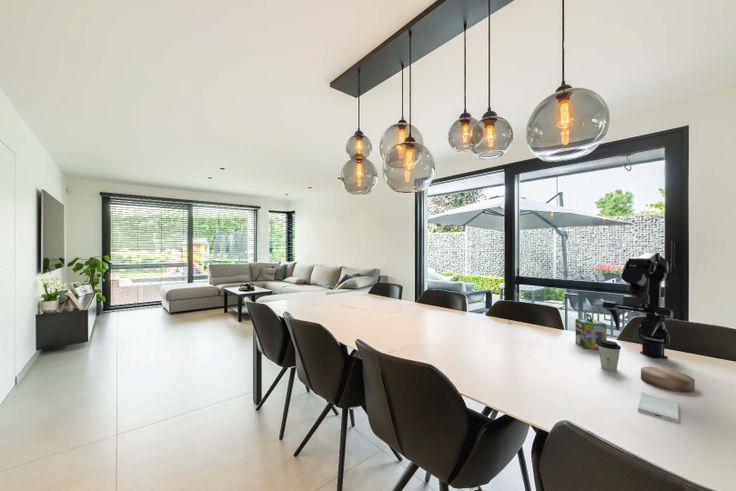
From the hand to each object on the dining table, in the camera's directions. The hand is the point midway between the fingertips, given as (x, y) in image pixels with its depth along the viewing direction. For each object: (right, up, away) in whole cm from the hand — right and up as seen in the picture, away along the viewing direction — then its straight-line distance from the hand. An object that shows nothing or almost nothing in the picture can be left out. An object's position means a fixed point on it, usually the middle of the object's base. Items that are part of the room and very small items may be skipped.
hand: (634, 332), depth 110 cm
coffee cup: (-4, -15, +6) cm, 17 cm away
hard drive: (-12, -16, -22) cm, 30 cm away
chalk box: (+8, -15, +32) cm, 36 cm away
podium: (+6, -15, -6) cm, 17 cm away
